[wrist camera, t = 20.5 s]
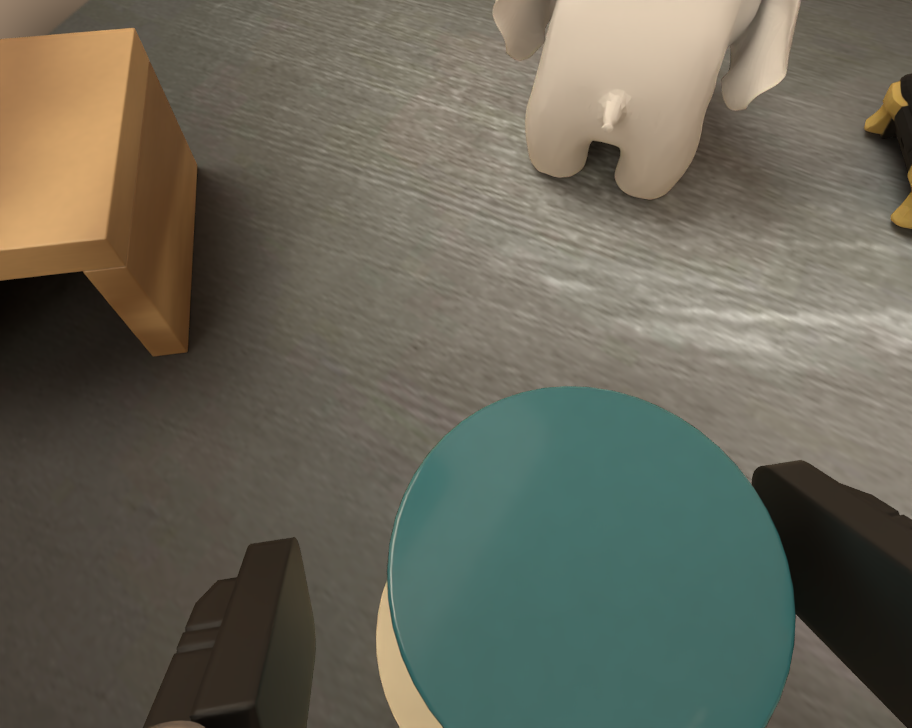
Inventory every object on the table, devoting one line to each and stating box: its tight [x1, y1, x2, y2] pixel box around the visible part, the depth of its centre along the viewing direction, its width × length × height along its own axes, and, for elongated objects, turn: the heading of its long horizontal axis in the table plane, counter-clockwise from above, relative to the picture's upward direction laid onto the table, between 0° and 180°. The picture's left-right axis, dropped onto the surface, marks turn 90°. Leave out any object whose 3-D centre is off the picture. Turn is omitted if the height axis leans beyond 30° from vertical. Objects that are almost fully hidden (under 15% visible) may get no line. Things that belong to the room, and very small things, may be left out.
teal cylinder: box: [387, 386, 796, 728], centre depth 13 cm, size 6×6×9 cm
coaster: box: [376, 582, 443, 728], centre depth 17 cm, size 8×8×1 cm
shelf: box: [0, 28, 197, 356], centre depth 21 cm, size 9×9×6 cm
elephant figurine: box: [493, 0, 801, 200], centre depth 23 cm, size 10×12×9 cm
